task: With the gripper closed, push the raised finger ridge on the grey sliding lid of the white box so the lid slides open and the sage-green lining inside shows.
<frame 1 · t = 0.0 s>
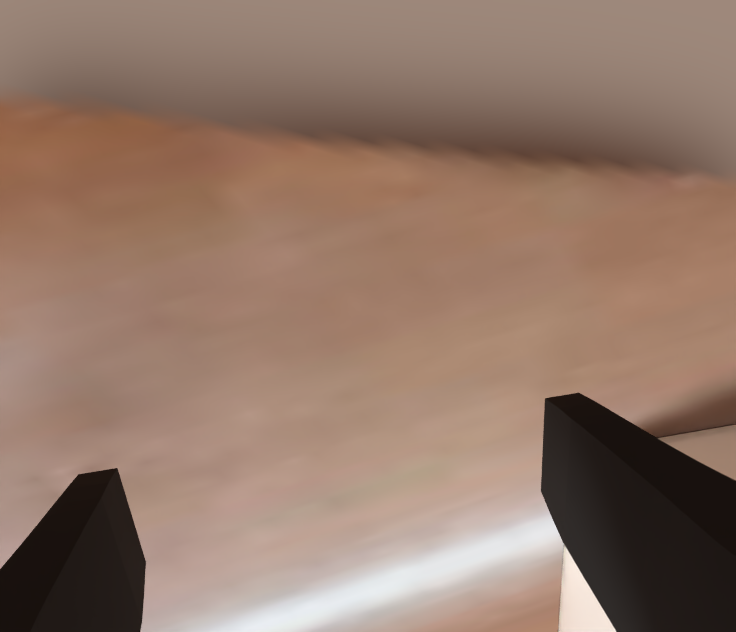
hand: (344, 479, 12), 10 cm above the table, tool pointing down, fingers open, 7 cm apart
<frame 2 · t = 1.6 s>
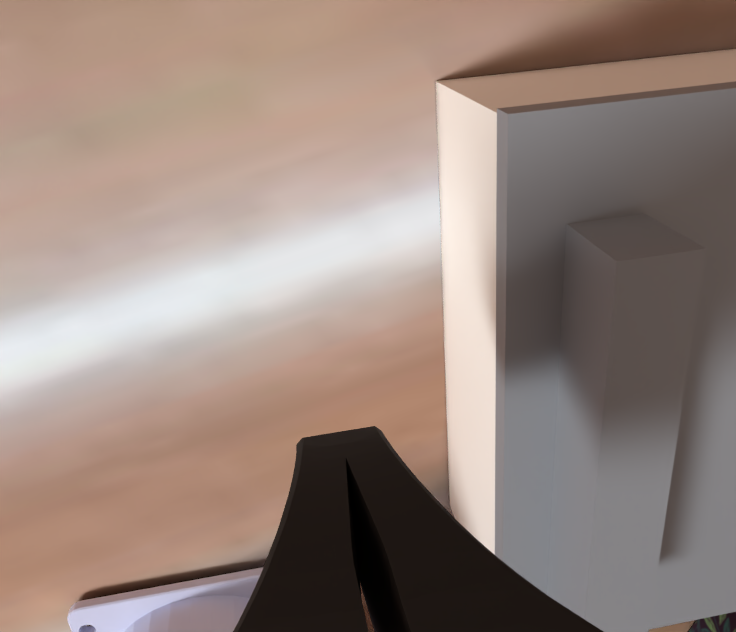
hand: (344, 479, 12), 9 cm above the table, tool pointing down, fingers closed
white box: (692, 288, 22), on the table
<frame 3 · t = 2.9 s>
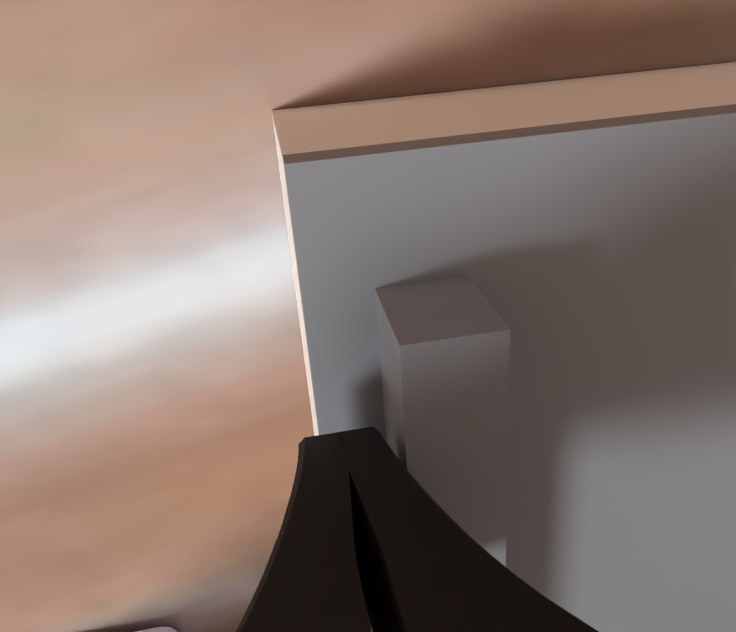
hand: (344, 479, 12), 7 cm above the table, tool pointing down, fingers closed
white box: (587, 333, 20), on the table
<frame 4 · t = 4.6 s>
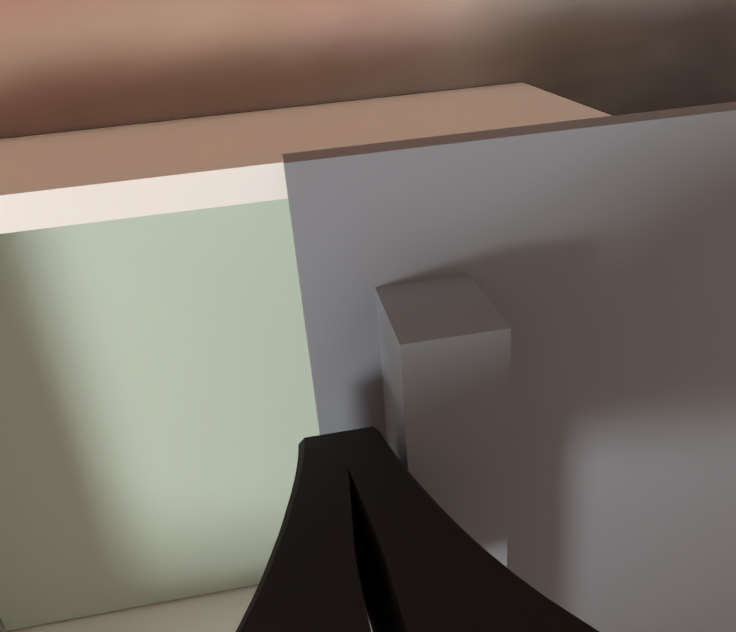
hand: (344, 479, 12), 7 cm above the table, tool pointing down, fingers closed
white box: (228, 387, 18), on the table
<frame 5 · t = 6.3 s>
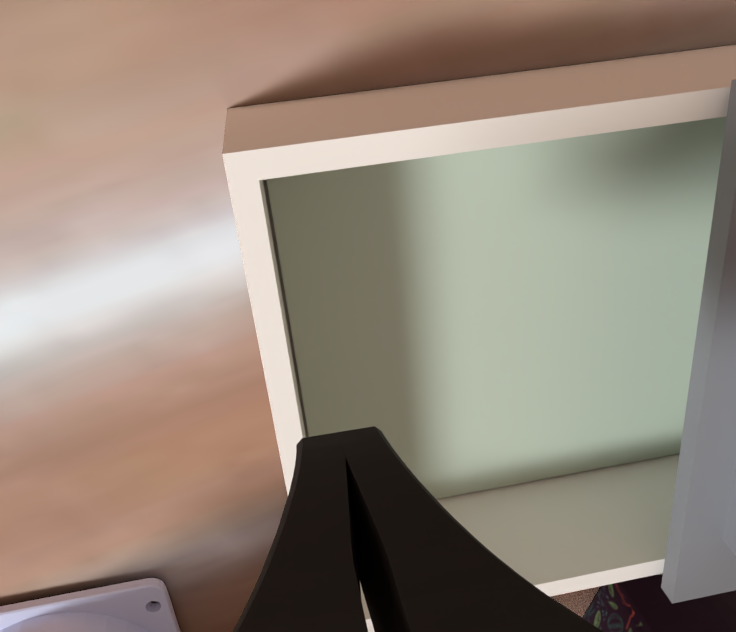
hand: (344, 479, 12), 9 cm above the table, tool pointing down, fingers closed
white box: (526, 305, 22), on the table
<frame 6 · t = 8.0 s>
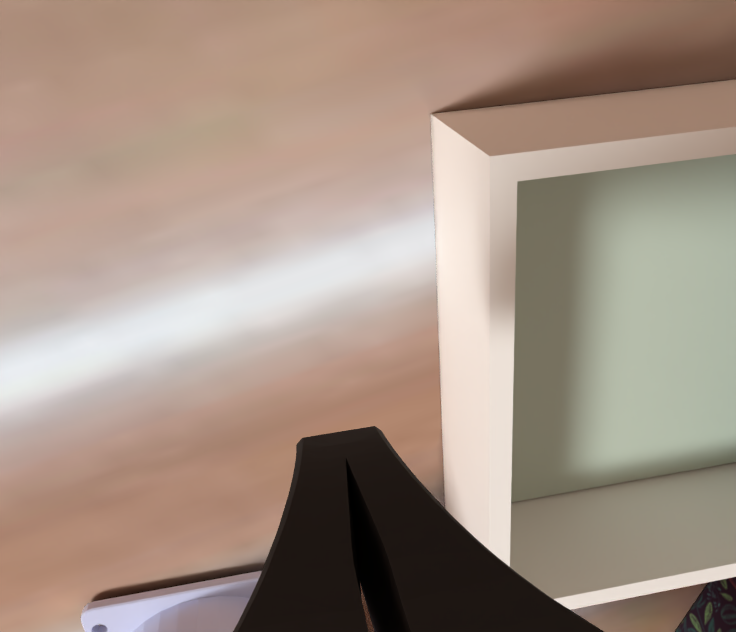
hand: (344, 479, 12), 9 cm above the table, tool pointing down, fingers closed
white box: (676, 305, 23), on the table
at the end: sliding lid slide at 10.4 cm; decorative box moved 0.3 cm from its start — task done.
